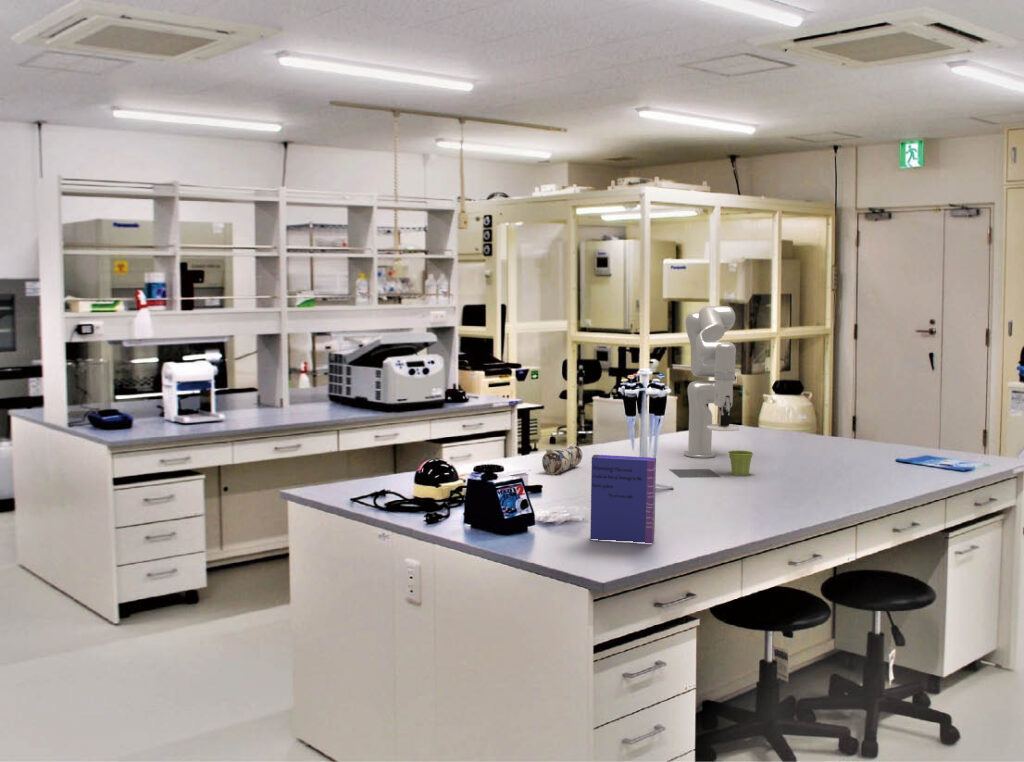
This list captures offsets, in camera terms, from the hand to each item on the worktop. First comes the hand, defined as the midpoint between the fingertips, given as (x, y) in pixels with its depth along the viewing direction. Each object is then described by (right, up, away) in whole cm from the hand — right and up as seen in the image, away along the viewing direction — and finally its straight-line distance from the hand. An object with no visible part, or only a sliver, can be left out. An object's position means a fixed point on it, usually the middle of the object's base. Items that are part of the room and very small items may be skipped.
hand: (723, 424), depth 386 cm
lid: (0, -2, 0) cm, 2 cm away
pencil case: (-60, -18, +9) cm, 63 cm away
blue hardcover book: (-49, -29, -97) cm, 112 cm away
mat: (-10, -19, +2) cm, 22 cm away
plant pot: (+7, -19, +2) cm, 21 cm away
